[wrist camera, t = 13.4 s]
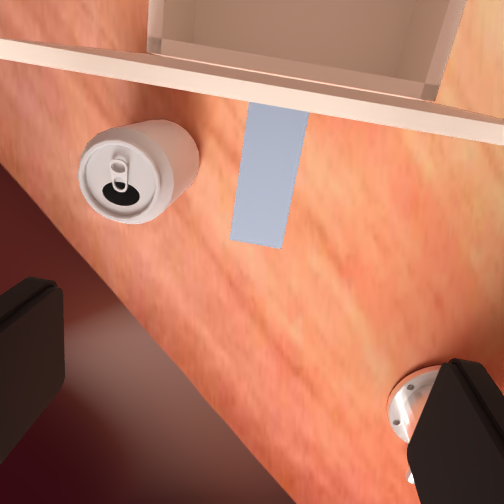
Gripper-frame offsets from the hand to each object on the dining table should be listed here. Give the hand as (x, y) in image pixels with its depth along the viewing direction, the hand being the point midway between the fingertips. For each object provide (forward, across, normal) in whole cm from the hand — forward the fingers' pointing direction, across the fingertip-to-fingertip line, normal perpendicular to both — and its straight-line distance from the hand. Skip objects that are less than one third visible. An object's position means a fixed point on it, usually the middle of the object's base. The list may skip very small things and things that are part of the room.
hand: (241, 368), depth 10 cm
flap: (+14, +1, -7) cm, 15 cm away
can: (+32, +12, +1) cm, 34 cm away
